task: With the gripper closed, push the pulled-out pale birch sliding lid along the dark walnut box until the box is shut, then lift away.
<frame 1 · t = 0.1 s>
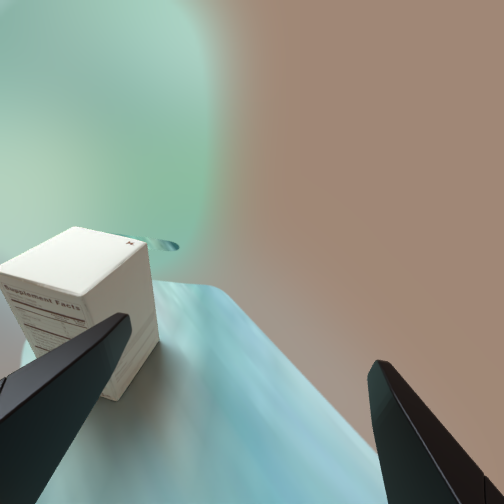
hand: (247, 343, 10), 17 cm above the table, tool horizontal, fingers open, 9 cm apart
supplement box: (108, 360, 27), on the table
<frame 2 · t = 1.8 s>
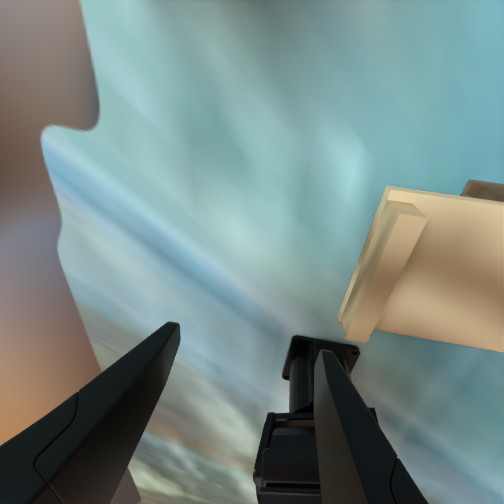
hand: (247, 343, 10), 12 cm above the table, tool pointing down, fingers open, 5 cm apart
lid: (467, 289, 14), point 6 cm above the table, slide at 6.5 cm
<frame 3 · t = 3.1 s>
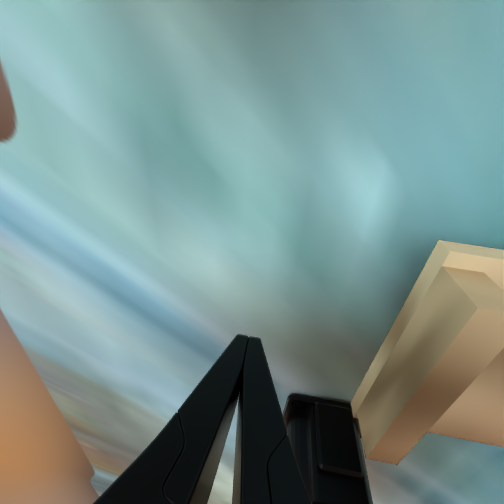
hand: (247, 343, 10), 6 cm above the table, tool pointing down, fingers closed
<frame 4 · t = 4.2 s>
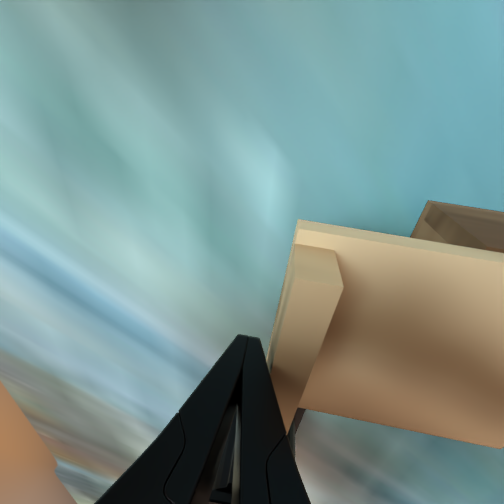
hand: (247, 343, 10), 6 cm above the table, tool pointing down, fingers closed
lid: (426, 375, 9), point 6 cm above the table, slide at 6.0 cm, touching gripper
walnut box: (494, 297, 14), on the table
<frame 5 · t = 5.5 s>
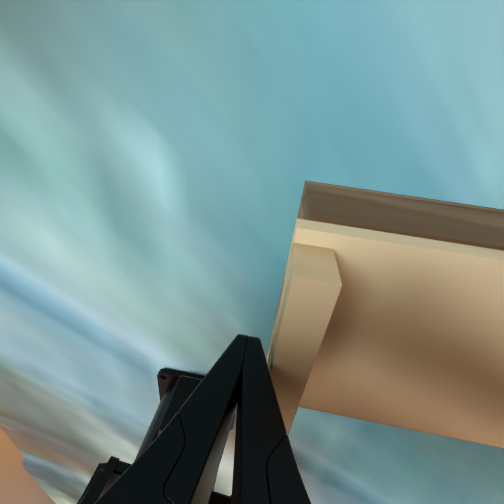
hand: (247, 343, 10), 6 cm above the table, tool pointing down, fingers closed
lid: (427, 373, 9), point 6 cm above the table, slide at 0.4 cm, touching gripper
walnut box: (389, 278, 14), on the table
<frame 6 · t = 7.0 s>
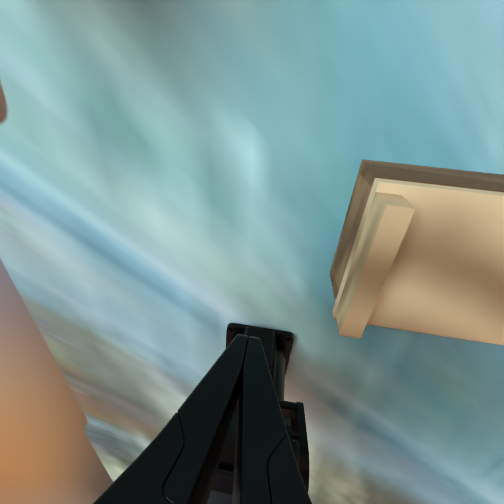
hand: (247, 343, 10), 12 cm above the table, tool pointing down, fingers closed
lid: (460, 281, 14), point 6 cm above the table, slide at 0.4 cm
walnut box: (422, 233, 19), on the table
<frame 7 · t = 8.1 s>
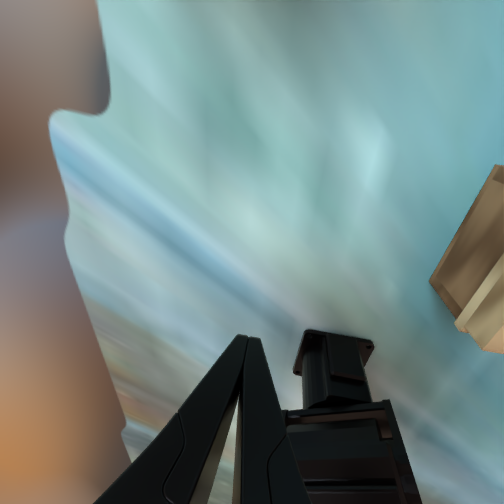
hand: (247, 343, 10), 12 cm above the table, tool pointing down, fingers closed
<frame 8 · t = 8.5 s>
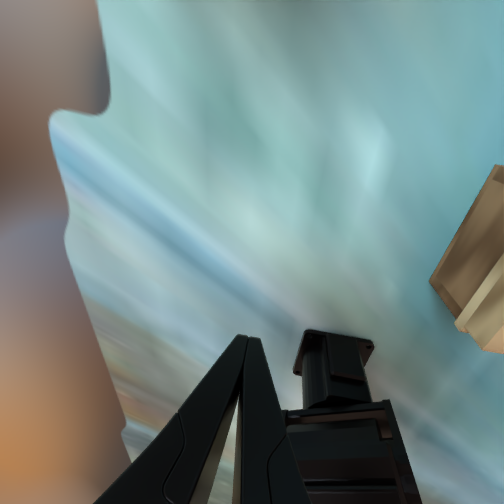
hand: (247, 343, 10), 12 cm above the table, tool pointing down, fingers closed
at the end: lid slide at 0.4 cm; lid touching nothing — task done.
